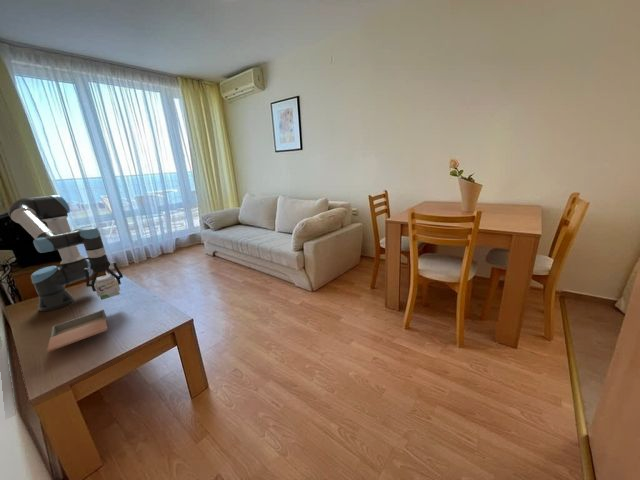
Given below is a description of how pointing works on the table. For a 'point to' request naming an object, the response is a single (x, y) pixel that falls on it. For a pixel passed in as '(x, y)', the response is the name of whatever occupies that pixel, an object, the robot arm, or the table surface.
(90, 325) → the lid
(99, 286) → the ink box
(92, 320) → the box
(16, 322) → the table surface
